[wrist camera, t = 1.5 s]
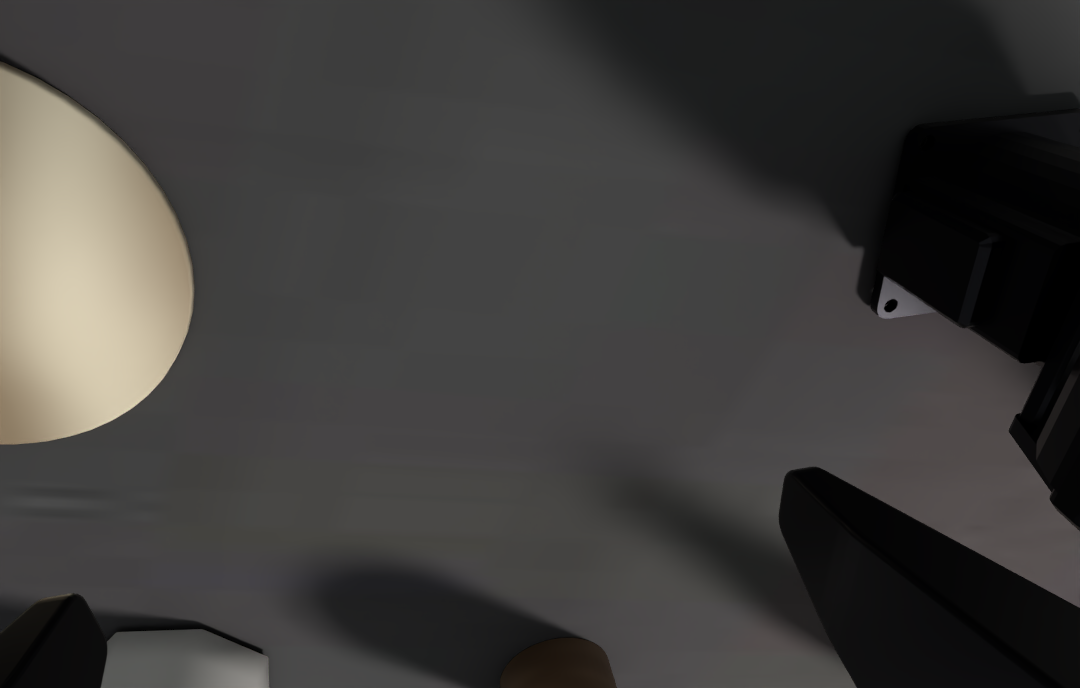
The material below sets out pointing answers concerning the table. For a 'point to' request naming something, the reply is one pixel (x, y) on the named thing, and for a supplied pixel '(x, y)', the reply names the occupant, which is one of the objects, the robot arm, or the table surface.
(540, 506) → the table surface
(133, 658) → the flask
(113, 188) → the coaster
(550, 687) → the pepper shaker
